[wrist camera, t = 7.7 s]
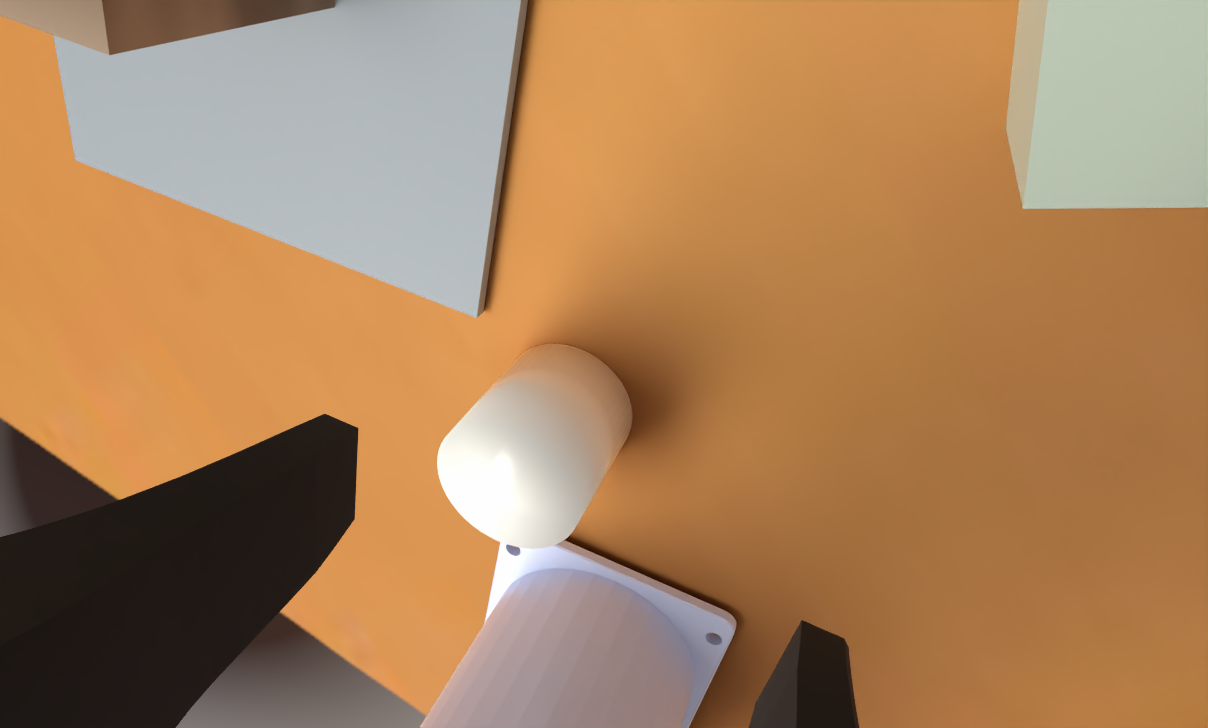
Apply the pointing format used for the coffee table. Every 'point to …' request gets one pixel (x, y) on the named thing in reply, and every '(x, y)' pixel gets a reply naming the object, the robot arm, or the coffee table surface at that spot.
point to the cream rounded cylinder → (536, 446)
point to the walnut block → (147, 19)
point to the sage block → (1110, 104)
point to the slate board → (324, 131)
